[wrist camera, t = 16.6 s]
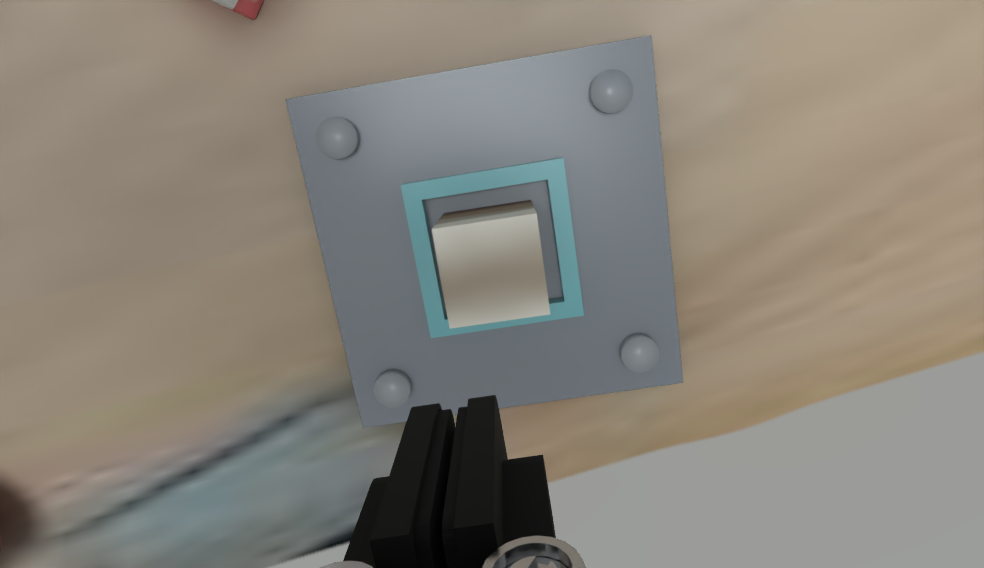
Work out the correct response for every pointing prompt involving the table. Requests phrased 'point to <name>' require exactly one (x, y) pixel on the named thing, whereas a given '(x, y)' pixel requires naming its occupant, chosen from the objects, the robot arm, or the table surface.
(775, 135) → the table surface
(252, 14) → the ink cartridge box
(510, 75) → the baseplate
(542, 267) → the smooth beige block
